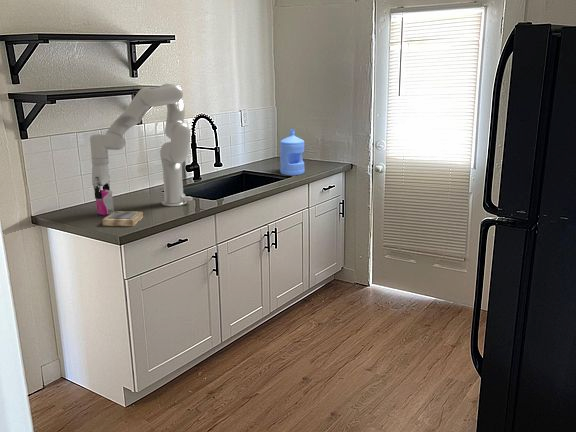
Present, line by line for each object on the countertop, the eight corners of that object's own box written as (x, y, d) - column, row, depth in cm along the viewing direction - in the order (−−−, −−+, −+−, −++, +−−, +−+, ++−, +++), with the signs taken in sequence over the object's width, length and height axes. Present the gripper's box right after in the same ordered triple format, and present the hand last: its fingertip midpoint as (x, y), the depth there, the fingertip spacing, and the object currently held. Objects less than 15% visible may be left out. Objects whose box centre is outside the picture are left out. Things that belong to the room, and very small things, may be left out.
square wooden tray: (143, 217, 263) (142, 211, 262) (133, 226, 250) (132, 219, 249) (114, 217, 264) (113, 210, 263) (102, 225, 251) (102, 219, 250)
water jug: (275, 173, 359) (274, 129, 351) (291, 169, 370) (291, 127, 362) (293, 176, 349) (293, 131, 341) (309, 172, 360) (309, 129, 352)
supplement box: (107, 211, 273) (105, 188, 270) (114, 213, 270) (112, 190, 266) (97, 214, 269) (94, 191, 266) (104, 216, 265) (101, 193, 262)
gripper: (99, 157, 270) (102, 192, 275) (84, 163, 254) (87, 200, 258) (114, 158, 270) (116, 192, 274) (100, 164, 253) (103, 200, 258)
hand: (102, 196), depth 266 cm, fingers open, 9 cm apart
